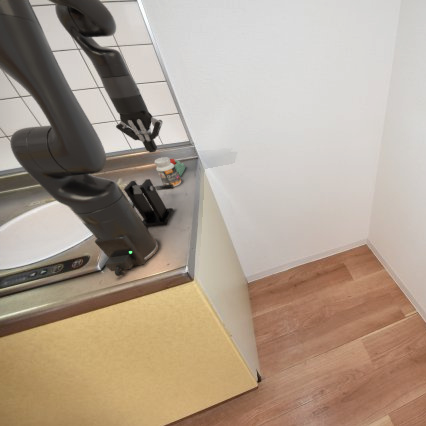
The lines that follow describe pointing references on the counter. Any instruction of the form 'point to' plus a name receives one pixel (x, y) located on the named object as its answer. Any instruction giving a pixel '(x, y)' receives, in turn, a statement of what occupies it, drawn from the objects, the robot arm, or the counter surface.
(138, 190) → the lever
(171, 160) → the stop button
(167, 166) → the pill bottle
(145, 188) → the bracket
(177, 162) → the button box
